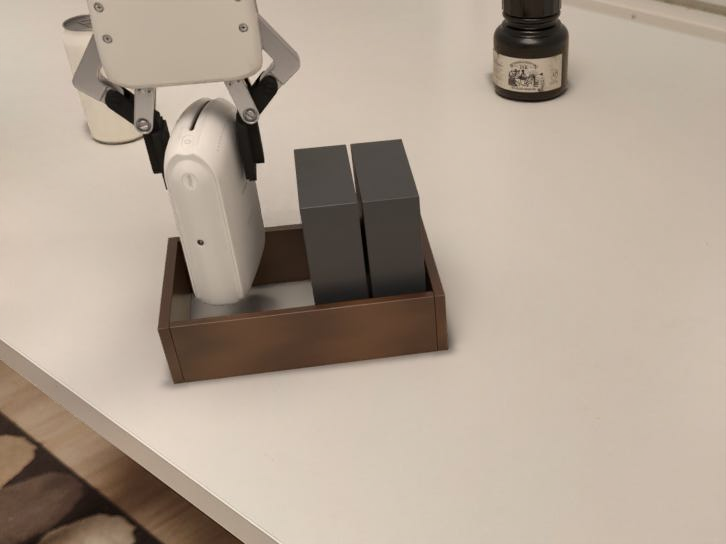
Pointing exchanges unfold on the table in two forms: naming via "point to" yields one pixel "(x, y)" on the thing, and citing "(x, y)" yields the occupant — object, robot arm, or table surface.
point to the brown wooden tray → (294, 320)
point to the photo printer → (214, 202)
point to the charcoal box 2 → (388, 218)
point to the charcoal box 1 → (330, 224)
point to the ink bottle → (530, 50)
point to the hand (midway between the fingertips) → (211, 174)
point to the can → (98, 115)
